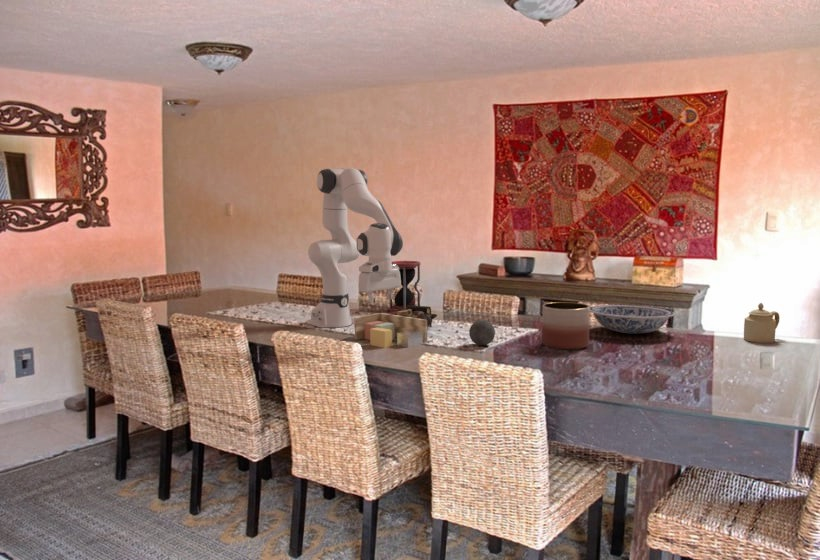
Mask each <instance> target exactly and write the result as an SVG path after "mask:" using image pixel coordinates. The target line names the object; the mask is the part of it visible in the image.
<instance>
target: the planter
mask: <svg viewBox="0 0 820 560" xmlns="http://www.w3.org/2000/svg"><path fill="white" fill-rule="evenodd" d="M589 308H590V305H588V304H585V303H580V302H573V301H571V302H570V301H569V302H568V301H557V302H556V301H555V302H552V301H551V302H546V303H543V304H542V319H541V320H542V322H541V323H542V324H541V326H542V327H541V343H542V345H544V346H545V347H548V348H551V349H553V350H565V351H572V350H573V351H574V350H575V351H576V350H582V349H585V348H586V347H588V346H589V343H590V311H589Z"/></svg>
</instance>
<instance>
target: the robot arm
mask: <svg viewBox="0 0 820 560" xmlns="http://www.w3.org/2000/svg"><path fill="white" fill-rule="evenodd" d="M316 185H317V189H318V190H319V191H320V193H323V198H322V215H321V216H322V226H323V228H324V229H325V230H327V231H328V232H329V233H330V235H331V239H322V240H321V239H320V240H318V241H314V242H312V243H311V244H309V247H308V249H307V254H308V258H309V260H310V261H311V263H312V264H314V265H315V266H316V267H317V269H318V271H319V272H320V275H321V280H322V295H319V297H318V298H319V299H320V302H319V303H318V304H317V305H316V306H314V308H313V309H311V311H310V312H311V313H310V319H307V320H305V324H307V325H310V326H311V325H312V326H314V327H317V328H342V327H348V326H350V325H352V324H353V323H352V322H353V319H351V309H350V304H349V301H350V298H349V297H350V296H349V293H348V278H347V275H346V274H344V272H341V271H340V269H339V266H338V264H346V263H350V262H354V261H356V260H357V259H359V256H360V255H362V256H365V257H366V256H367V257H368V261H366V262H365V263H363V264H361V265H360V266H358V270H359V275H358V289H359V291H360V293H366V295H367V297H368V299H369V304H375V303H376V297H374V296H373V295H374V292H376V291H377V292H378V291H384V290H387V291H388V293H387V294H386V300H387V301H390V300H392V301H393V295H394V292H395V290H394V288H395V289H396V288H397V289H398V288H401V286H402V285H401V277H400V271H399V267H398V266H397V265H396V264H393V265H392V262H393V261H392V256H393V257H395V256H397V255H398V254H399V253H400V252H401V250H402V249H403V247H404V241H403V237H402V236H401V234H400V233H399V232H398V230H397V228H396V227H395V226H394V224H393V222H392V220H391V218H390V216H389V215H388V212H387V210H386V209H385V207H384V205H383V204H382V202H381V200H378V199H377V198H376V197H375V196H373V194H372V193H371V191H370V190H369V188H368V176H367V174H366V172H365V171H364V170H361V169H358V168H357V169H356V168H355V167H349V168H345V167H344V168H343V167H342V168H325V169H321V170H320V171H319V172H318V173H317V179H316ZM348 210H350V211H351V212H353V213H355V214H356V213H357V214H361V215H363V216H367V217H370V218H371V219H374V220H375V221H376V223H371V224H370V225H369V227H368V229H367V230H366V231H364V232H361V233H360V234H359V235H358V236H357V238H356V240H355V238H353V236H352V235H351V232H350V229H349V225H348V224H349V223H348ZM396 266H397V267H396Z"/></svg>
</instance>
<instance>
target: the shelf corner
mask: <svg viewBox="0 0 820 560" xmlns="http://www.w3.org/2000/svg"><path fill="white" fill-rule="evenodd" d="M374 321H383V322H385V323H386V322H389V323H395V338H397V333H400V332H404V331H409V330H414V331H420V332H423V343H425V342H426V343H428V328H427V320H424V319H418V318H411V317H405V316H398V315H391V314H390V313H386V312H385V313H383V312H378V313H377V312H376V313H373V314H369V315H363V316H357V317H354V340H356V341H358V340H363V339H365V335H364V323H369V322H374Z"/></svg>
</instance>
